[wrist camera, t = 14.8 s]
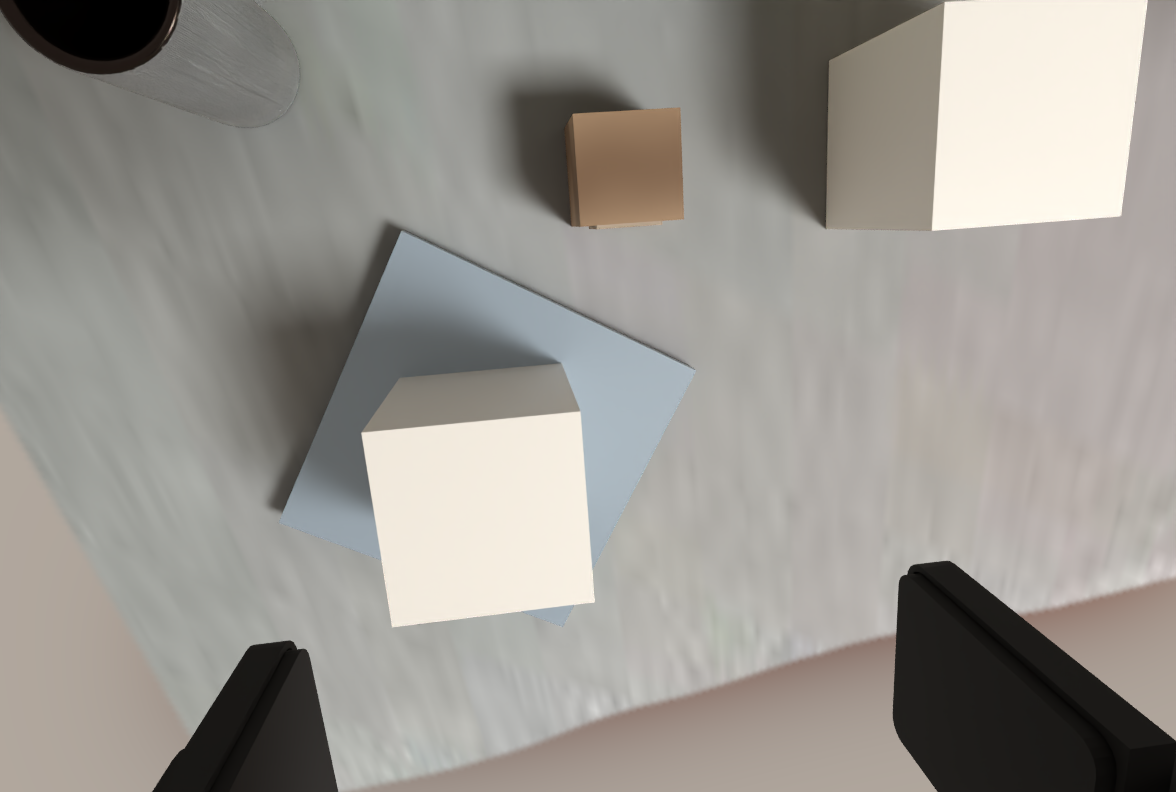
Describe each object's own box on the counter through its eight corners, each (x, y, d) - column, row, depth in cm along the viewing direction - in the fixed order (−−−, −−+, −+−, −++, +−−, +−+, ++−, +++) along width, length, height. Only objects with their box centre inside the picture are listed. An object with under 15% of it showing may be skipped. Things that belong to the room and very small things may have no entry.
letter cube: (563, 128, 29) (572, 113, 25) (657, 123, 29) (680, 107, 25) (571, 229, 30) (580, 230, 26) (661, 223, 30) (684, 223, 26)
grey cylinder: (233, 151, 27) (77, 111, 17) (153, 46, 26) (-64, -62, 16) (325, 87, 27) (220, 8, 17) (248, -22, 26) (89, -174, 16)
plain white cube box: (829, 60, 29) (944, 1, 21) (982, 52, 30) (1148, -7, 22) (825, 229, 31) (931, 230, 23) (971, 217, 32) (1121, 216, 24)
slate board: (690, 366, 32) (696, 370, 31) (561, 615, 34) (562, 627, 33) (405, 230, 29) (401, 230, 28) (285, 513, 31) (278, 522, 30)
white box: (399, 378, 29) (360, 432, 22) (561, 363, 30) (580, 411, 22) (420, 527, 31) (392, 627, 23) (573, 510, 32) (594, 602, 24)
